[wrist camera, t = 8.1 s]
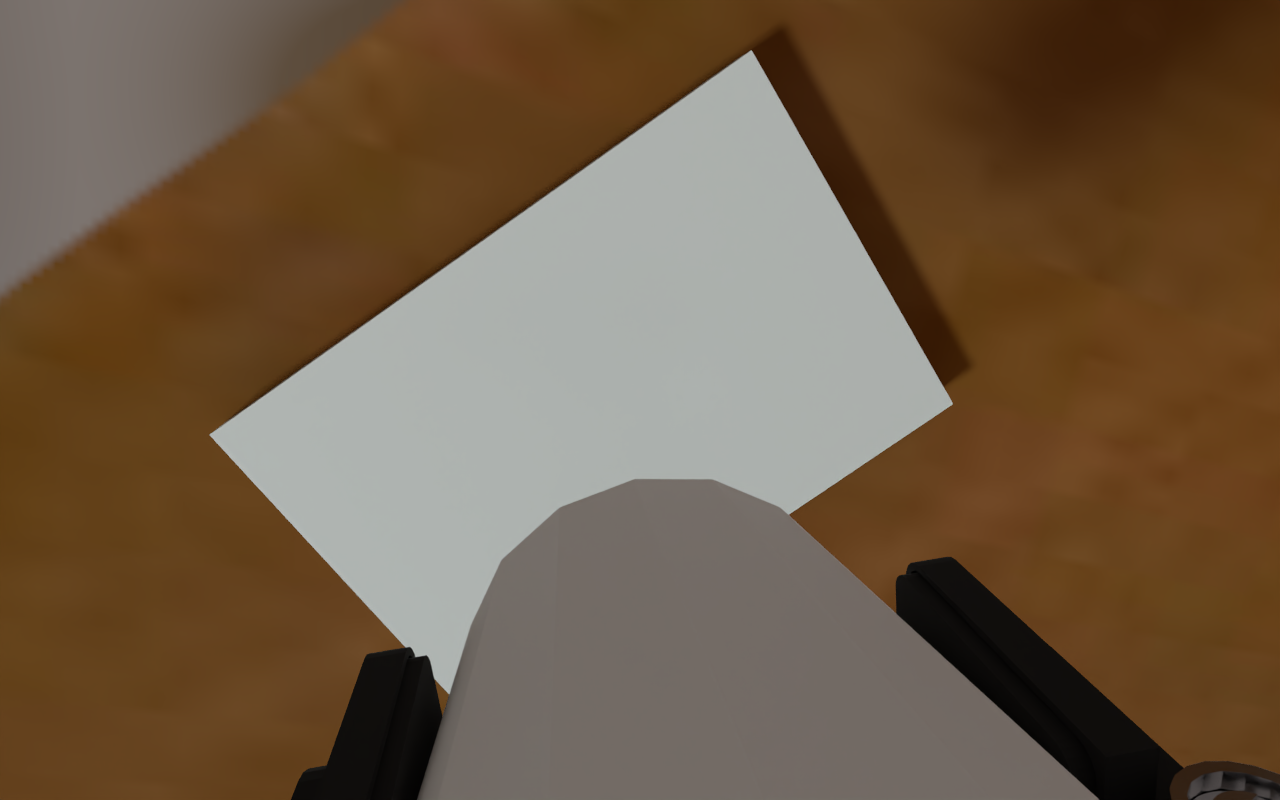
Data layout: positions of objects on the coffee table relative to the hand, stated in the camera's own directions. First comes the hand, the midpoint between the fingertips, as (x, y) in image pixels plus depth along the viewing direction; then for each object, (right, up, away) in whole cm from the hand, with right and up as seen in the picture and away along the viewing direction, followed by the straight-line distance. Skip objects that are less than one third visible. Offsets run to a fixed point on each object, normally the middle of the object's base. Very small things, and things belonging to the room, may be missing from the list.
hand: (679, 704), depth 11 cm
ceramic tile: (-2, +4, +14) cm, 14 cm away
